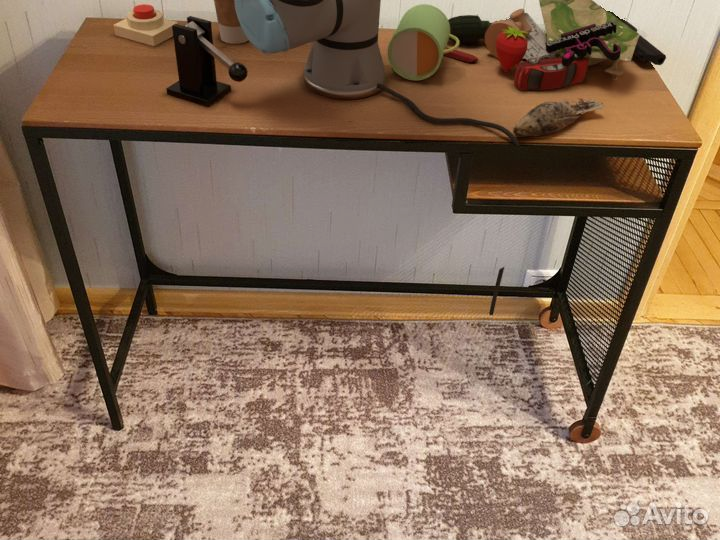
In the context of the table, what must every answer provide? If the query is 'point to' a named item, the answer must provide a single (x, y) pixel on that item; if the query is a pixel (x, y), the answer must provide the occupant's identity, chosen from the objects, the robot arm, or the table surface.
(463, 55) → the utility knife
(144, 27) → the button housing
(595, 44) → the logo
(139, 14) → the stop button
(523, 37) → the strawberry
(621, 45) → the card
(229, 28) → the coffee cup
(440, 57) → the mug
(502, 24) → the door knob
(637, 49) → the handgun
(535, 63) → the toy car
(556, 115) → the bird model
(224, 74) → the table surface
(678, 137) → the table surface
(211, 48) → the press lever
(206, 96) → the lever bracket
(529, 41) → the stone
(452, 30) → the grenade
